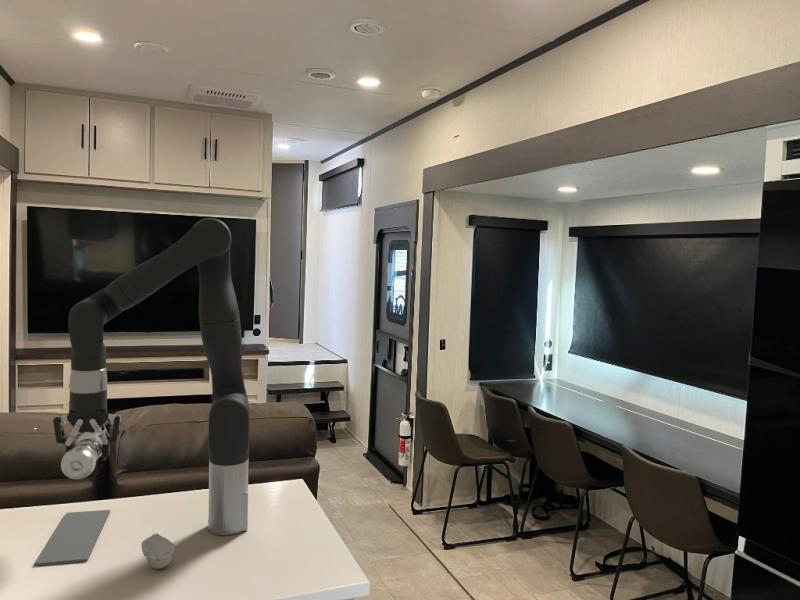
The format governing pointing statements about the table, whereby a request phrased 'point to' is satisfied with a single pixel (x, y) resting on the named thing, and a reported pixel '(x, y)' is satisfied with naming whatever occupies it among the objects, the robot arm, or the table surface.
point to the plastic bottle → (82, 456)
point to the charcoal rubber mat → (74, 538)
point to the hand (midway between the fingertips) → (88, 459)
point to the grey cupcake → (158, 551)
